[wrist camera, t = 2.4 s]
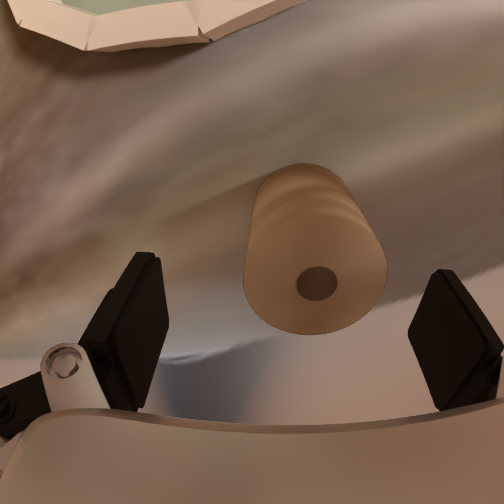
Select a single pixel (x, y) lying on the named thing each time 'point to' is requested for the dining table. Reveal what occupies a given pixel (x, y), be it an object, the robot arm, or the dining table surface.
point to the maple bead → (311, 254)
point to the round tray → (141, 20)
